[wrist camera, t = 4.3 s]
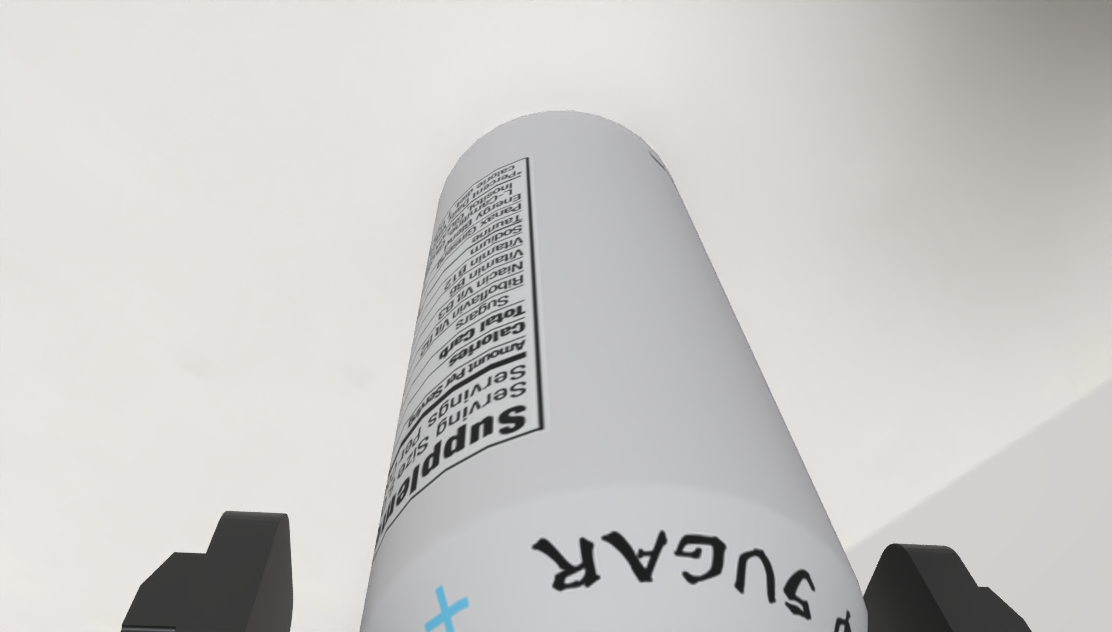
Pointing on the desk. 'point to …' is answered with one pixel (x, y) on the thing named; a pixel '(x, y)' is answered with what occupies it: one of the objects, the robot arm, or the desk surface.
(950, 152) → the desk surface
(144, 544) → the desk surface
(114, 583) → the desk surface
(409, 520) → the energy drink can
